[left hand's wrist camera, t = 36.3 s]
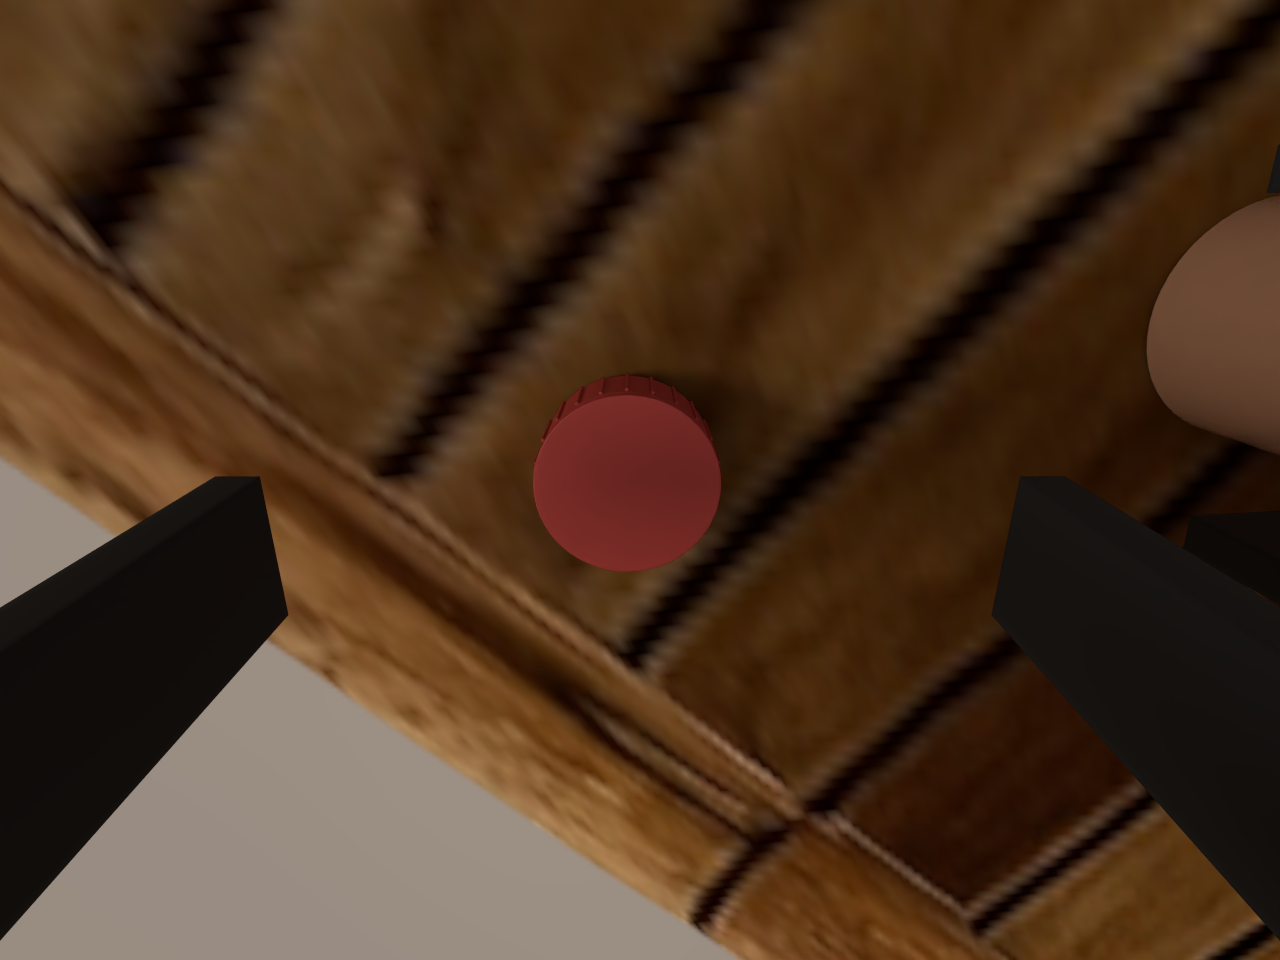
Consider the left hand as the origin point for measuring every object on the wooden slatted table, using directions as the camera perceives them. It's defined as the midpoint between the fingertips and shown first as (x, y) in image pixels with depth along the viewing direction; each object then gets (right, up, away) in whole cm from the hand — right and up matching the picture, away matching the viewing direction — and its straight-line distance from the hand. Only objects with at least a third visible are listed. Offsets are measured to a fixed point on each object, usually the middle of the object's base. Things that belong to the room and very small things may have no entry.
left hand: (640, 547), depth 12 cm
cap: (0, +1, +5) cm, 5 cm away
